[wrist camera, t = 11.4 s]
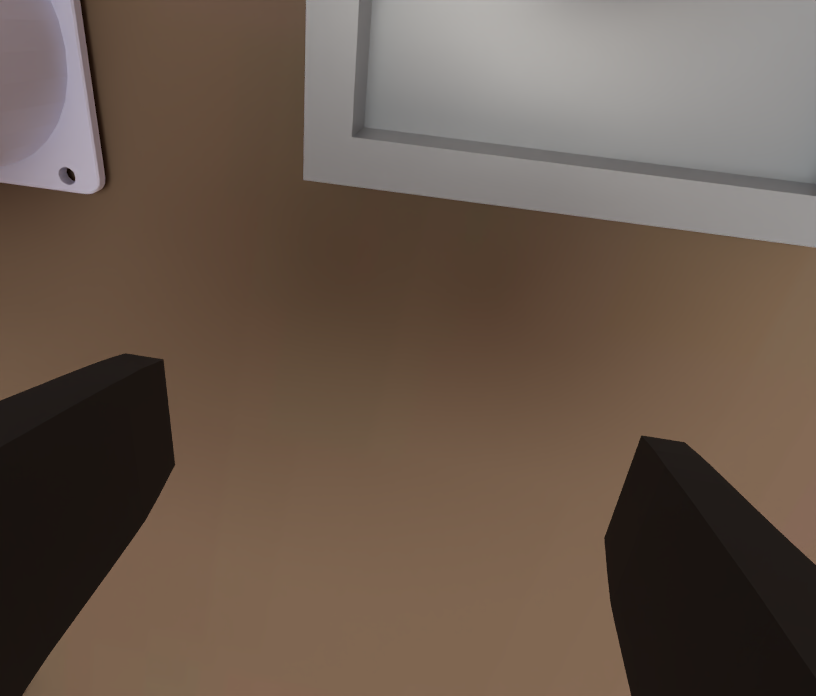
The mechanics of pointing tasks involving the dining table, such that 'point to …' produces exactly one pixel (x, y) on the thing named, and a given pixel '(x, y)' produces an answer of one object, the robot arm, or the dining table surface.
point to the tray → (573, 107)
